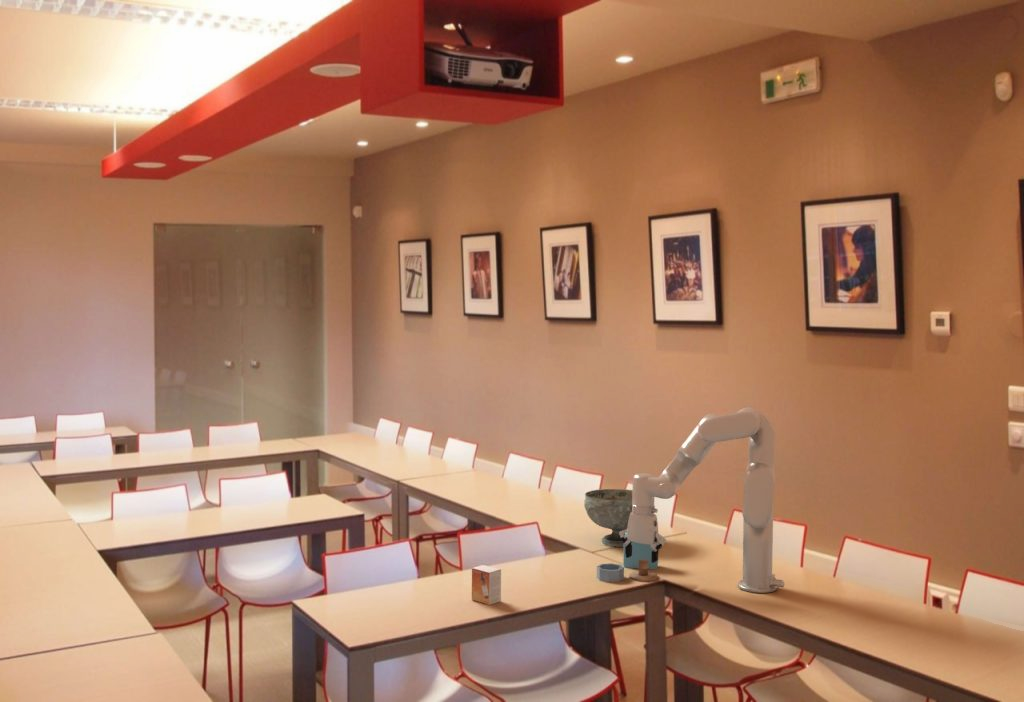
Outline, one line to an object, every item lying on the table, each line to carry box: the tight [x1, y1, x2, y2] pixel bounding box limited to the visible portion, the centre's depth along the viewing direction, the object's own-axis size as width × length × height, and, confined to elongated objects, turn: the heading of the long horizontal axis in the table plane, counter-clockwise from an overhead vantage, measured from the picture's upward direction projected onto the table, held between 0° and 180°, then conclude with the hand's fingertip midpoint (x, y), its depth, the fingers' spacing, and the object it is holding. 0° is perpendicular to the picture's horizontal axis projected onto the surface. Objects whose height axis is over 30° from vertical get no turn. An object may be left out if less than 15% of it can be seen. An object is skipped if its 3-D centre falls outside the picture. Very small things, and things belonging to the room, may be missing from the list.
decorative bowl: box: [583, 488, 633, 548], centre depth 386 cm, size 26×26×20 cm
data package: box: [622, 533, 659, 570], centre depth 350 cm, size 12×4×12 cm, turn 79°
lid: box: [628, 559, 658, 583], centre depth 336 cm, size 10×10×6 cm
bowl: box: [596, 562, 625, 583], centre depth 335 cm, size 9×9×4 cm
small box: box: [471, 564, 502, 606], centre depth 313 cm, size 8×6×10 cm
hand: (641, 559), depth 336 cm, fingers open, 9 cm apart
